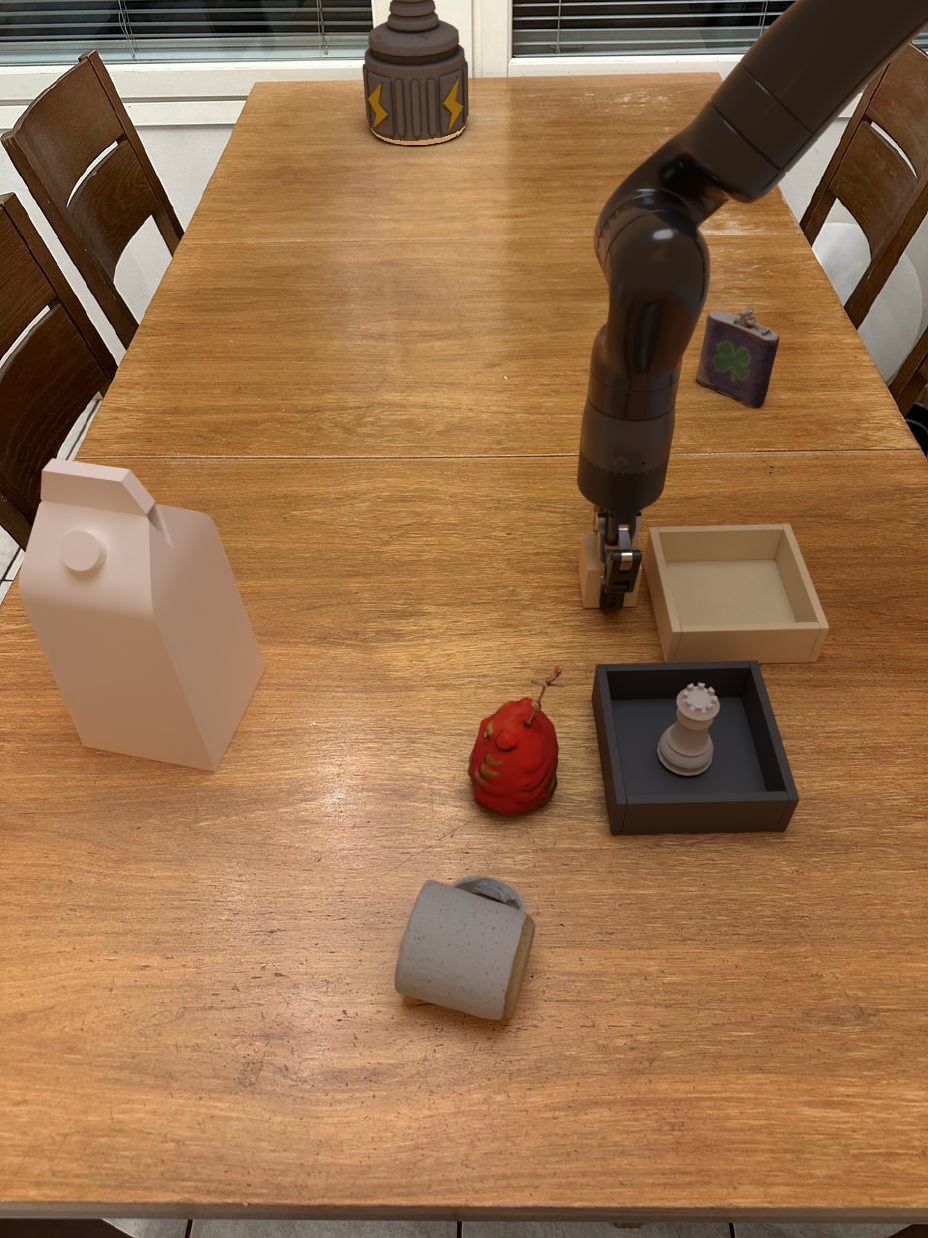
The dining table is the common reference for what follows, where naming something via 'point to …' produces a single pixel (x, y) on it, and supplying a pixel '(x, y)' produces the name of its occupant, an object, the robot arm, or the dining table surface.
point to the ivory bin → (733, 594)
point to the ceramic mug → (466, 947)
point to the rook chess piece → (690, 732)
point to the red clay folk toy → (516, 756)
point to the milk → (138, 617)
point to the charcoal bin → (741, 763)
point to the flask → (737, 356)
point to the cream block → (597, 574)
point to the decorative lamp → (415, 75)
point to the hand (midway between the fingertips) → (606, 585)
